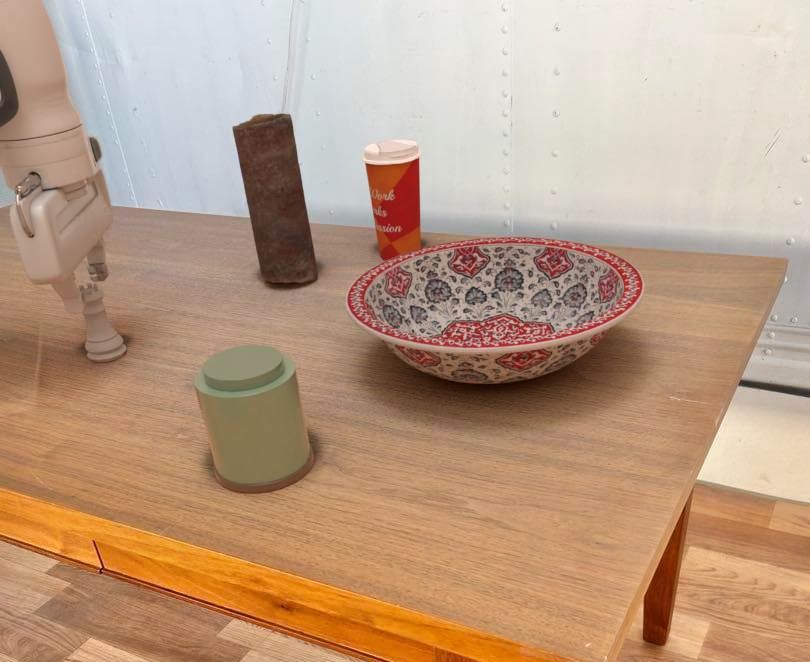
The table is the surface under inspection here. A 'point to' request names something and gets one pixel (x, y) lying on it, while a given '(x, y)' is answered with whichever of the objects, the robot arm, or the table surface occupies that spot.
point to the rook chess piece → (100, 328)
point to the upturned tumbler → (254, 418)
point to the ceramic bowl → (495, 306)
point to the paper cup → (395, 195)
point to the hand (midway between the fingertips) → (90, 294)
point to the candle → (276, 198)
